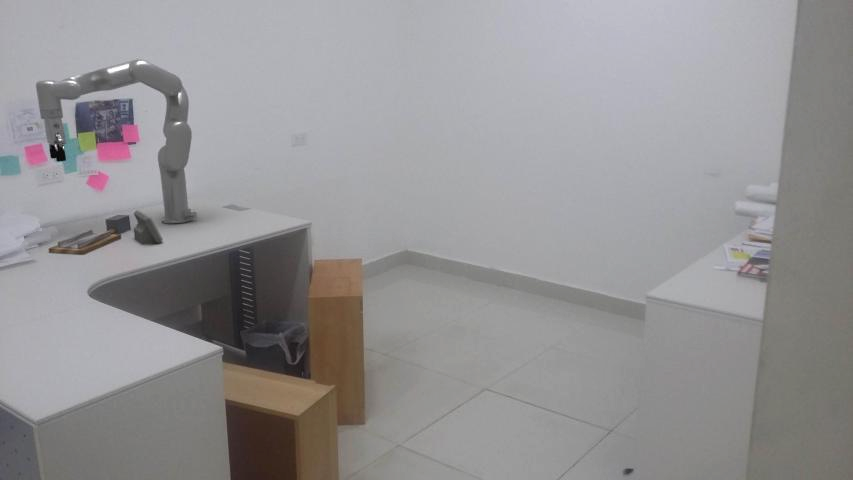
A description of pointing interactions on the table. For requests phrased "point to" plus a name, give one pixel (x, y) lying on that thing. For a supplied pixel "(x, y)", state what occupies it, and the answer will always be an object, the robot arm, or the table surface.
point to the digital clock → (146, 229)
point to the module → (118, 224)
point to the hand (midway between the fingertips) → (58, 159)
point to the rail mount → (84, 242)
